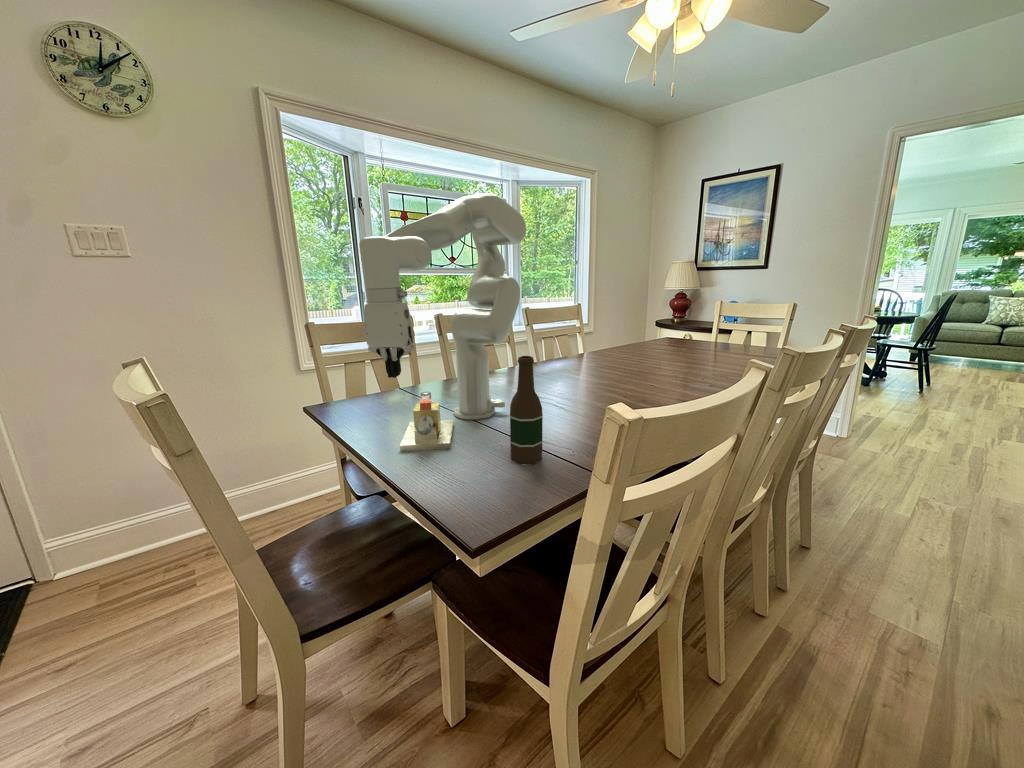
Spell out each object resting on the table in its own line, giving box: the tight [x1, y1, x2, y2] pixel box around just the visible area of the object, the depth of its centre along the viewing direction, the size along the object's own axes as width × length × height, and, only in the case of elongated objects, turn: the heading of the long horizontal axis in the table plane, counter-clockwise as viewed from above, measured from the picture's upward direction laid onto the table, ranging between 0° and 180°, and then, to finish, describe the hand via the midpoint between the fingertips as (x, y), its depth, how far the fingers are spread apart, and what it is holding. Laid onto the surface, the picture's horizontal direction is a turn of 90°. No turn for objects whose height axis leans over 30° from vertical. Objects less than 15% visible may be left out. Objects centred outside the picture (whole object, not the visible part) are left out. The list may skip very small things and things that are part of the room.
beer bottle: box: [509, 355, 544, 465], centre depth 89 cm, size 8×8×24 cm
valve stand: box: [399, 401, 454, 452], centre depth 103 cm, size 12×16×10 cm
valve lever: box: [419, 391, 432, 411], centre depth 98 cm, size 10×3×2 cm, turn 11°
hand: (394, 375), depth 93 cm, fingers closed
